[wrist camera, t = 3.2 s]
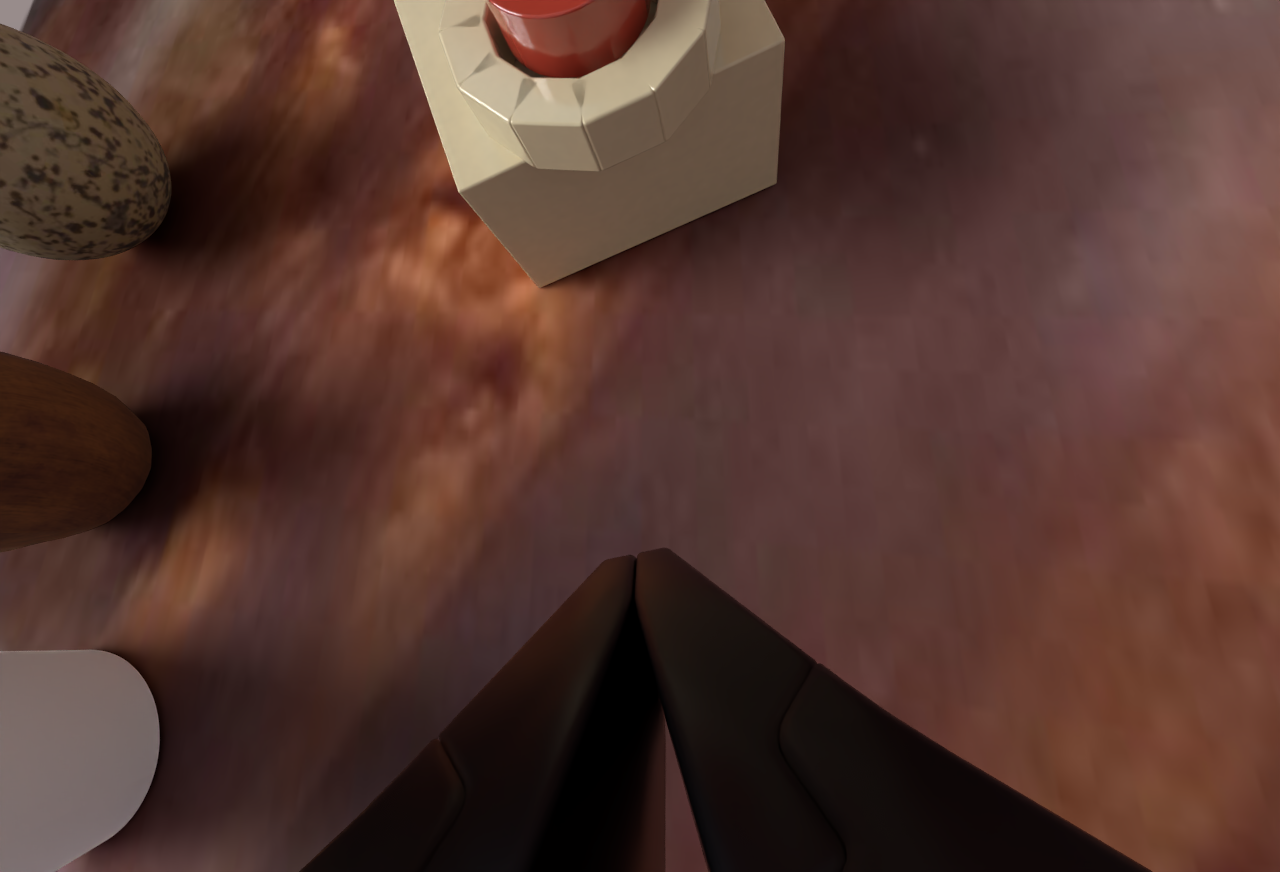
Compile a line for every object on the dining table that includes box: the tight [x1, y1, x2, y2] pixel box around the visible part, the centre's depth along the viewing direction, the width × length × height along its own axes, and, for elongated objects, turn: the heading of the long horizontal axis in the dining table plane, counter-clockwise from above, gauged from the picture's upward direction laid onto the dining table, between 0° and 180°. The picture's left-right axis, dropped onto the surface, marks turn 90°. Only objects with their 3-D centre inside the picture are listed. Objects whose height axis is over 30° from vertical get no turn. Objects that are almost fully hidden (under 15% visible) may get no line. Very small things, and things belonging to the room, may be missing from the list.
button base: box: [394, 0, 785, 288], centre depth 19 cm, size 11×9×8 cm
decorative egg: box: [0, 24, 171, 260], centre depth 21 cm, size 7×7×10 cm
